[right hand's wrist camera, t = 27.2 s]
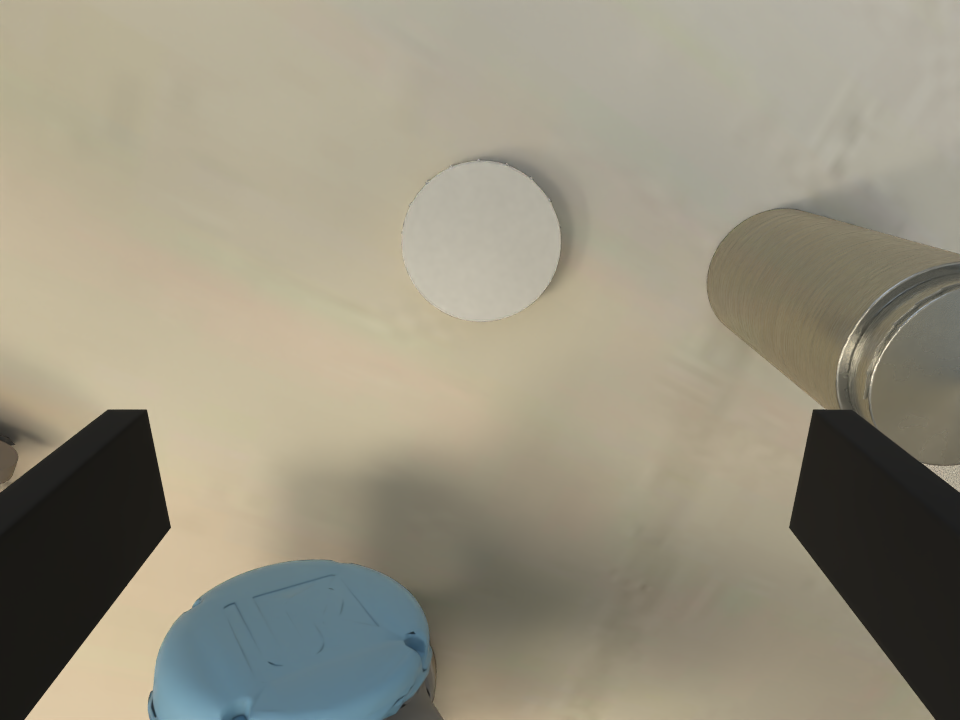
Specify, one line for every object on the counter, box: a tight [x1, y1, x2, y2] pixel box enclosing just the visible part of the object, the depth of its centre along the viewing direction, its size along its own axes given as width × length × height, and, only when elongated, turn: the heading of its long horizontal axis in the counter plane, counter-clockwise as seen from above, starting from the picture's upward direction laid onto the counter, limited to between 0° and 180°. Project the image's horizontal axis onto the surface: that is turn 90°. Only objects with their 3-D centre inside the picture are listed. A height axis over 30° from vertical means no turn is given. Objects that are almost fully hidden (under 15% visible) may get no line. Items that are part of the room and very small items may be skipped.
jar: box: [707, 209, 960, 466], centre depth 31 cm, size 8×8×17 cm
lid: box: [401, 159, 561, 322], centre depth 38 cm, size 9×9×2 cm
